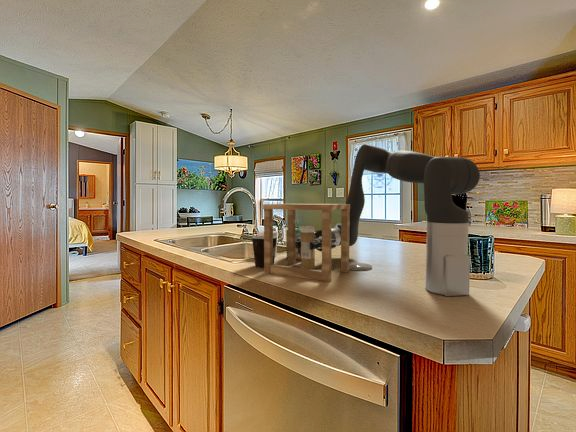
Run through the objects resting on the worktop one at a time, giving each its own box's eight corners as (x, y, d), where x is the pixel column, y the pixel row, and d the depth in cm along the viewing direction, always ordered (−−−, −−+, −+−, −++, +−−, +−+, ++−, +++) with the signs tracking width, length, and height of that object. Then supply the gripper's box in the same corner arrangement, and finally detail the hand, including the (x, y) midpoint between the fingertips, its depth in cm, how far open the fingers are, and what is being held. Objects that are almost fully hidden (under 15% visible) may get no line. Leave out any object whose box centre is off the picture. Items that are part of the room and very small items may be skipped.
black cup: (266, 258, 124) (266, 233, 123) (254, 256, 130) (254, 231, 129) (281, 256, 129) (281, 231, 128) (269, 253, 135) (269, 230, 134)
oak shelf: (291, 263, 114) (291, 203, 113) (349, 270, 102) (350, 204, 101) (263, 272, 100) (262, 204, 98) (327, 282, 88) (327, 204, 87)
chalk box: (309, 260, 120) (309, 221, 119) (285, 259, 121) (285, 221, 121) (312, 256, 129) (312, 220, 128) (290, 255, 130) (290, 219, 130)
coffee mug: (265, 262, 116) (265, 235, 116) (282, 266, 110) (282, 237, 109) (239, 267, 108) (239, 238, 107) (255, 271, 102) (255, 240, 101)
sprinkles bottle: (317, 267, 101) (317, 225, 101) (308, 270, 98) (307, 226, 97) (307, 265, 105) (307, 225, 104) (297, 268, 101) (297, 226, 101)
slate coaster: (377, 270, 103) (377, 268, 103) (347, 271, 102) (347, 269, 102) (365, 263, 113) (365, 262, 113) (338, 264, 112) (338, 263, 112)
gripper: (309, 228, 117) (284, 232, 102) (345, 229, 109) (324, 234, 95) (309, 248, 117) (284, 255, 103) (345, 251, 110) (324, 259, 95)
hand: (303, 245), depth 99 cm, fingers closed on sprinkles bottle, 4 cm apart
